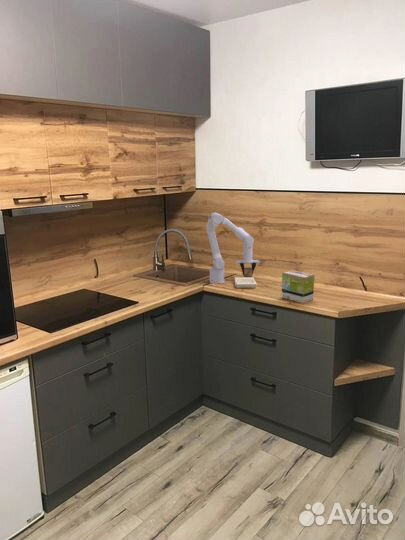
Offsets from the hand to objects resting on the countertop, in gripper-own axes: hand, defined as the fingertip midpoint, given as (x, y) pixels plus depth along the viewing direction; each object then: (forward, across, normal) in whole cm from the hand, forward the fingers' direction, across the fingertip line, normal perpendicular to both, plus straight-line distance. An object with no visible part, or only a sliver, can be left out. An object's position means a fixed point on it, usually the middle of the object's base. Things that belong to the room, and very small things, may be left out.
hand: (247, 274), depth 298 cm
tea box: (+4, +23, -43) cm, 49 cm away
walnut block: (+1, 0, 0) cm, 1 cm away
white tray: (+4, -3, -14) cm, 15 cm away
